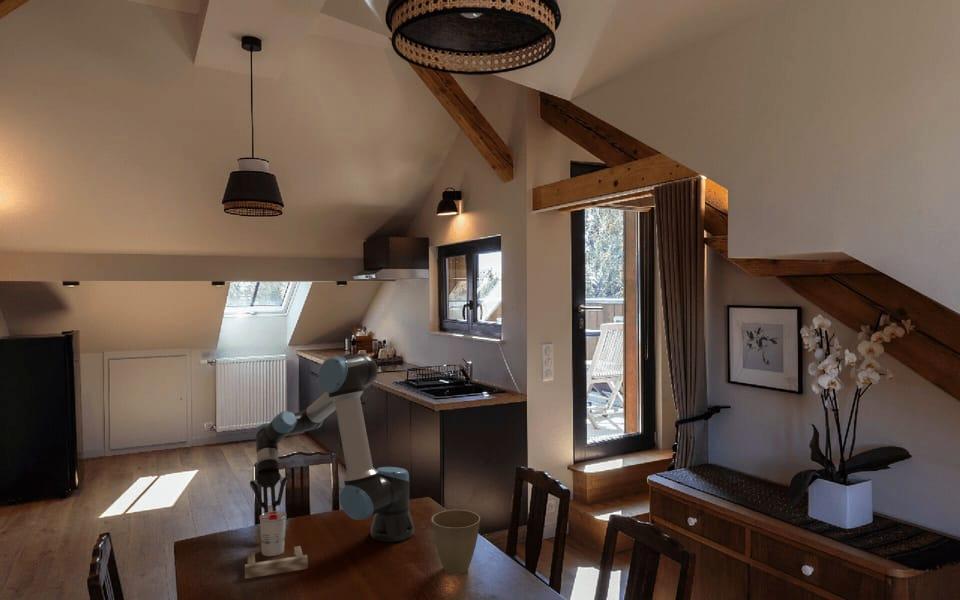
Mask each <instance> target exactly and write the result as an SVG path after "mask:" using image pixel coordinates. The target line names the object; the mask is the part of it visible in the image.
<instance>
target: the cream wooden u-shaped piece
mask: <svg viewBox="0 0 960 600" xmlns="http://www.w3.org/2000/svg"><path fill="white" fill-rule="evenodd" d="M308 559H309V557H308V555H307V554H305V555H304V554H303V551H302V547H301V545H298V546H293V556H290V557H285V558H284V557H283V558H278V559H276V558H275V559H272V560H264V561H259V562H258V561H257V562H256V555H255V552H250V553H247V563H246V564H244V579H245V580H246V578H247V579H253V578H258V577H259V578H260V577H263V576H264V577H266V576H270V575H277V574H278V575H279V574H283V573H291V572H295V571H302V570H306V569H308V566H309V563H308V561H309V560H308Z"/></svg>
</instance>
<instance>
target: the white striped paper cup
mask: <svg viewBox="0 0 960 600" xmlns="http://www.w3.org/2000/svg"><path fill="white" fill-rule="evenodd" d="M258 519H259V523H260V527H259V528H260V541H261V542H260V545H261V546H260V547H261V554H262V556H265V557H276V556H279V555H282V554H283V553H284V552H285V542H286V541H285V540H286V523H287V521H288V520H289V519H288V518H287V513H286V512H285V511H281V510H276V511H271V512H267V513H264V512H263V513H262V514H260V515H259V518H258Z"/></svg>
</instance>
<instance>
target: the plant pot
mask: <svg viewBox="0 0 960 600" xmlns="http://www.w3.org/2000/svg"><path fill="white" fill-rule="evenodd" d="M480 522H481V517H480V515H479V514H477V513H476V512H473V511H470V510H464V509H448V510H443V511H439V512H437V513H436V514H433V516H432V517H431V526H432V533H433V537H434V539H433V540H434V543H435V547H436V550H437V554H438V558H439V560H440V564H441V566H442V568H443V572H444V573H446V574H448V573H449V574H448V575H451V574H460V575H463V574H465V573H467V572H468V571H469V567H470V565H471V563H472V560H473V557H474V553H475V550H476V546H477V545H476V544H477V540H478V536H479V530H480ZM467 570H468V571H467ZM466 571H467V572H466ZM462 573H463V574H462Z"/></svg>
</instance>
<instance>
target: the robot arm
mask: <svg viewBox="0 0 960 600" xmlns="http://www.w3.org/2000/svg"><path fill="white" fill-rule="evenodd" d="M318 369H319V370H318V374H317V377H318V379H317V380H318V384H319V387H320V388H321V389H322V391H323V392H324V393H323V394H321V396H319V397H318V398H317V399H316V400H315V401H313V402H312V403H311V404H310V405H309V406H308V407H306V408H305V409H304V410H302V411H299V412H295V413H293V412H291V411H288V410H284V411H280V413H278V414H277V415H276V416H274V418H273V419H272V420H271V421H270V423H267V422H266V423H262V424H261V425H258V426H257V428H256V431H255V445H256V446H255V447H256V470H257V472H256V473H257V475H256V477H255V479H253V480H250V482H249V487H250V488H251V489H252V491H253V493H254V497H255V500H256V503H257V506H258V508H263V511H264V512H263V514H264V513H267V512H271V511H277V506H278V507H279V506H280V505H281V503H282V499H283V494H284V488H285V486H286V484H287V482H288V477H287V476H286V477H283V476H282V475H281V473H280V464H279V450H278V446H279V443H280V442H281V441H282V440H283V439H284V438H285V437H287V436H291V435H295V434H299V433H303V432H308V431H313V430H316V429H319V428H320V427H321V426H322V425H323V423H324V422H325V421H324V420H325V419H326V418H328V417H329V416H330V415H331V414H332V413H334V411H336V417H337V422H338V423H337V424H338V428H339V436H340V439H341V445H342V446H341V447H342V452H343V456H344V463H345V467H346V476H345V477H344V479H343V483H344V487H343V488H342V489H341V491H340V493H339V503H340V506H341V509H342V510H343V512H344V513H345V514H346V515H348V517H349V518H350V519H353V520H355V521H357V520H358V521H359V520H363V519H369V518H370V517H372V516H373V515H374V517H373V520H372V524H371V526H370V537H371V538H372V539H373V540H375V541H378V542H383V543H396V542H402V541H406V540H408V539H410V538H412V537H413V536H414V534H415V527H414V522H413V519H412V516H411V513H410V474H409V471H408V470H407V469H405V468H401V467H396V466H395V467H394V466H382V467H378V468H375V467H374V466H373V462H372V461H373V460H372V454H371V450H370V445H369V439H368V434H367V432H368V431H367V429H366V423H365V417H364V412H363V411H364V410H363V405H362V401H361V396H362V395H363V393H364V391H365V390H366V389H368V388H369V387H370V386H371V385H372V384H373V383H374V382H375V381H376V379H377V377H378V374H379V373H378V372H379V371H378V366H377V363H376V362H375V360H374V358H372V357H371V356H369V355H368V354H365V353H356V354H345V355H336V356H333V357H329V358H327V359H325V360H324V361H323V363H321V366H320V368H318ZM278 483H279V484H280V487H279V491H278V496H277V500H276V489H275V488H276V485H277V484H278ZM258 485H260V487H262V492H263V500H262V498H261V493H260V491H259V487H258ZM268 488H269V489H270V498H271V499H270V500H271V501H270V503H271V504H269V501H268V499H269V498H268V495H269V494H268ZM412 535H413V536H412ZM409 537H410V538H409ZM407 538H408V539H407ZM405 539H406V540H405Z"/></svg>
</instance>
